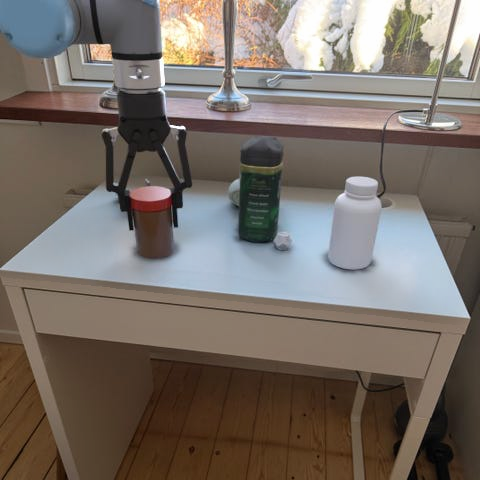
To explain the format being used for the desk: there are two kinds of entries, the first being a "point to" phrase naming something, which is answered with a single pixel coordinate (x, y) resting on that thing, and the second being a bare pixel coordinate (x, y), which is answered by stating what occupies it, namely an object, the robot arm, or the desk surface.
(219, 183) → the desk surface
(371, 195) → the pill bottle
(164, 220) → the jam jar
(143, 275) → the desk surface
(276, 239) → the game die
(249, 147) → the coffee jar
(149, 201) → the lid
